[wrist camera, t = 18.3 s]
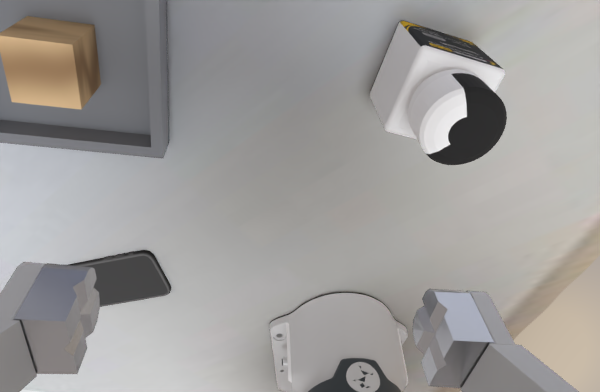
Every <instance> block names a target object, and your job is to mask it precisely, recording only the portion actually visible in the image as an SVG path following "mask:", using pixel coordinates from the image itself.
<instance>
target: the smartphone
mask: <svg viewBox="0 0 600 392" xmlns="http://www.w3.org/2000/svg"><path fill="white" fill-rule="evenodd" d="M70 266H81V267H92V268H94V269H95V273H96V278H97V279H96V282H95V284H94V287H93V288H95V289H96V290H97V291H98V292H99V298H100V307H102V306H107V305H113V304H119V303H125V302H131V301H137V300H143V299H148V298H154V297H159V296H165V295H167V294H169V293H170V291H171V286H170V284H169V282H168V280H167V278H166V277H165V275H164V273H163V271H162V269H161V267H160V266H159V264H158V262H157V260H156V258H155V256H154V255H153V254H152V253H151V252H149V251H146V250H143V251H137V252H129V253H126V254H125V253H124V254H118V255H116V256H108V257H104V258H100V259H95V260H90V261H85V262H80V263H75V264H70Z"/></svg>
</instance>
